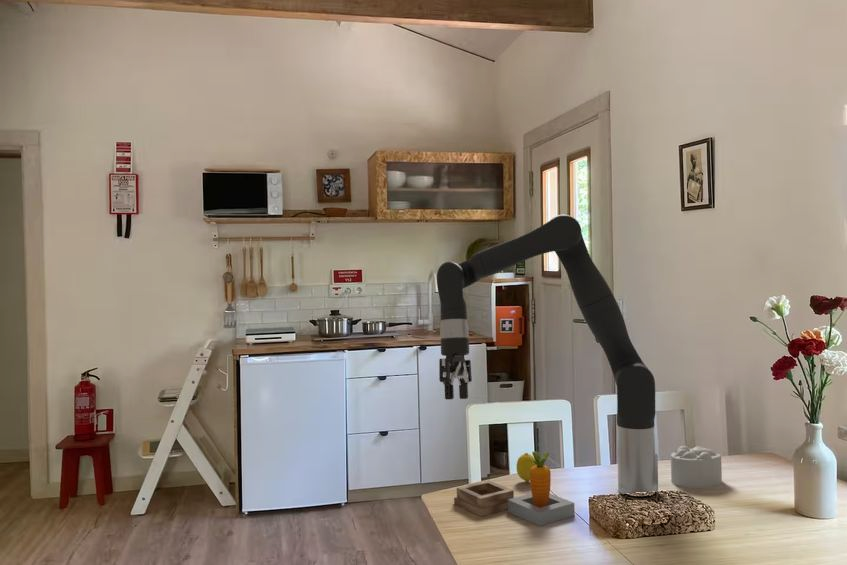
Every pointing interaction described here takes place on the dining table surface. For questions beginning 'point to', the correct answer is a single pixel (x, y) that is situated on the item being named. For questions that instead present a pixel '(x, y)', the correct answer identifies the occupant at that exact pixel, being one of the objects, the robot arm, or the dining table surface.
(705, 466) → the lumpy-topped squat cylinder
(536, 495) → the carrot
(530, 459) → the lemon
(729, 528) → the dining table surface
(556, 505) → the socket block
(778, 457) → the dining table surface
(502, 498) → the square wooden tray
